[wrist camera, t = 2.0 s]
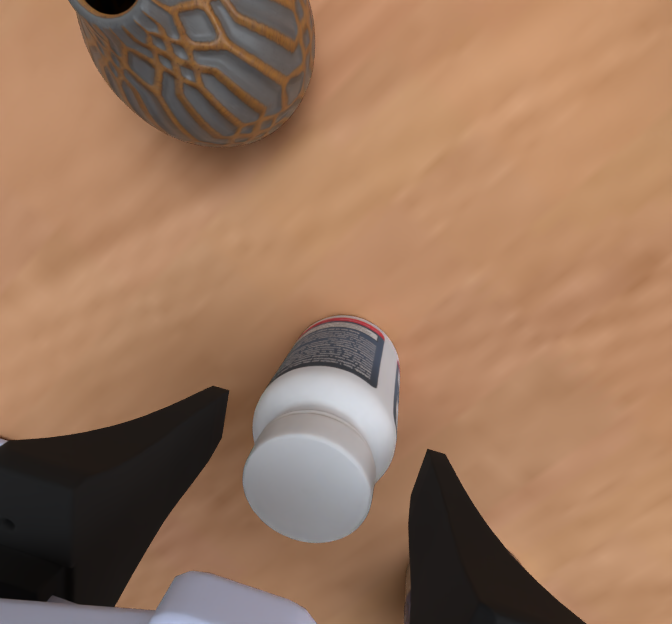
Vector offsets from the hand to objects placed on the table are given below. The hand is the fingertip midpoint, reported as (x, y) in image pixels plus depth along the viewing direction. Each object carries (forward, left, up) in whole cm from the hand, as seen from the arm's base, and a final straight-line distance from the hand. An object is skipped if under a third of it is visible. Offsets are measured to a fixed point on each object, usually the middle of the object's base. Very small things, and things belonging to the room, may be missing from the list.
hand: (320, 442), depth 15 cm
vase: (-7, +12, -7) cm, 15 cm away
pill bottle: (0, 0, -7) cm, 7 cm away
